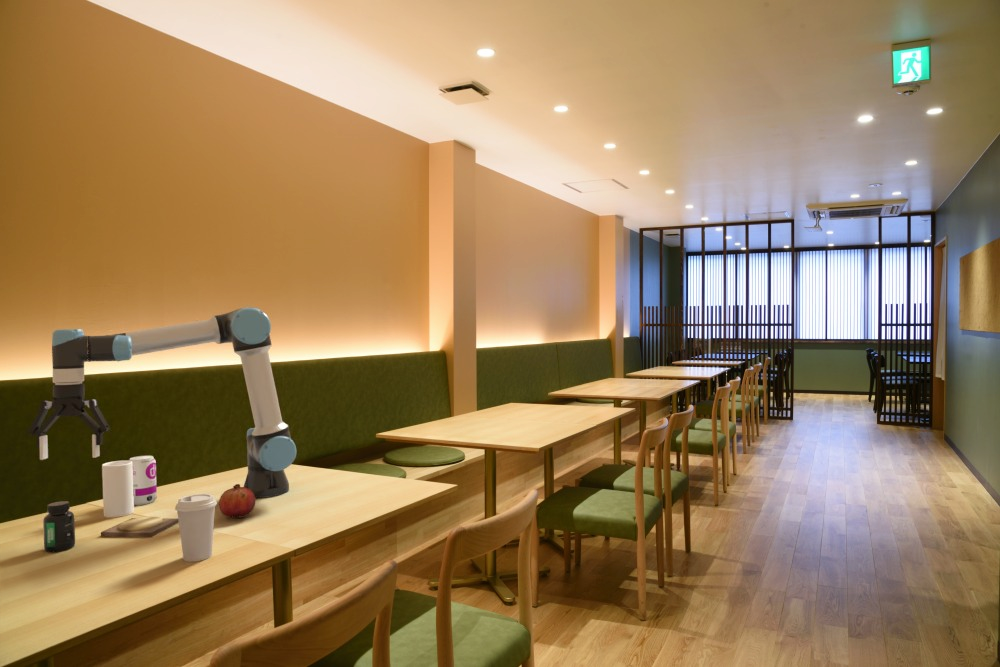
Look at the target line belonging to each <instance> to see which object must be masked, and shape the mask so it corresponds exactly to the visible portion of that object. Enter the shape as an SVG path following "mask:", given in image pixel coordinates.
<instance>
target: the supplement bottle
mask: <svg viewBox="0 0 1000 667" xmlns="http://www.w3.org/2000/svg"><path fill="white" fill-rule="evenodd" d="M46 506H47V511H46V512H47V513H48V514H46V515H45V516H44V517H43V521H42V523H43V524H42V526H43V528H42V529H43V530H42V531H43V548H44V552H46V553H60V552H65V551H68V550H70V549H72V548H74V547H75V546H76V526H75V523H76V522H75V513H74V512H73V511H72V510H71V509H70V501H67V500H66V501H63V500H61V501H56V502H52V503H49V504H47V505H46ZM70 510H71V511H70Z"/></svg>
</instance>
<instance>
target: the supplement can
mask: <svg viewBox="0 0 1000 667" xmlns="http://www.w3.org/2000/svg"><path fill="white" fill-rule="evenodd" d="M128 460H129V461H132V466H133V496H134V506H141V505H148V504H152V503H153V502H155V501H156V500H157V498H158V495H157V494H158V493H157V492H158V491H157V487H158V486H157V464H156V463H157V462H156V459H155V458H154V456H153V455H139V456H138V455H137V456H133V457H130V458H129V459H128Z"/></svg>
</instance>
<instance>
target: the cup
mask: <svg viewBox="0 0 1000 667" xmlns="http://www.w3.org/2000/svg"><path fill="white" fill-rule="evenodd" d="M129 460H130V459H128V460H115V461H113V460H112V461H109V462H105V463H102V464H101V477H102V500H103V501H102V504H103V508H102V509H103V517H104V518H120V517H124V516H129V515H131V514H134V512H135V505H134V496H133V466H132V461H129Z"/></svg>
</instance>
